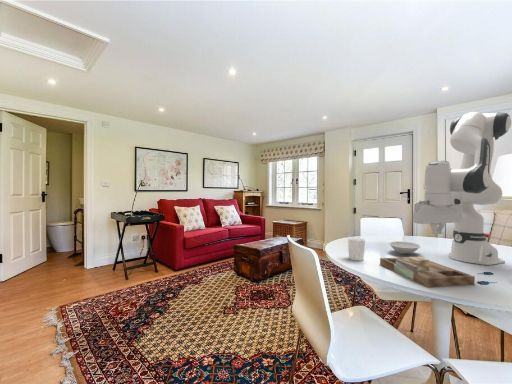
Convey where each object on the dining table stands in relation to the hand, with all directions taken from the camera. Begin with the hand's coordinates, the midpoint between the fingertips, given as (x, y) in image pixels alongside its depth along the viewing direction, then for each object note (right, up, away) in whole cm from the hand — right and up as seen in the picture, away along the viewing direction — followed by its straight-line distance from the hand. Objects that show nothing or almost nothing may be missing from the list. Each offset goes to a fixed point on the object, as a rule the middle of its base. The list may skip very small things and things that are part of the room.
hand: (437, 233), depth 102 cm
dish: (+6, -17, +33) cm, 37 cm away
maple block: (-9, -14, -1) cm, 16 cm away
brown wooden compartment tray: (-5, -17, +1) cm, 18 cm away
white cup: (-25, -16, +22) cm, 37 cm away
